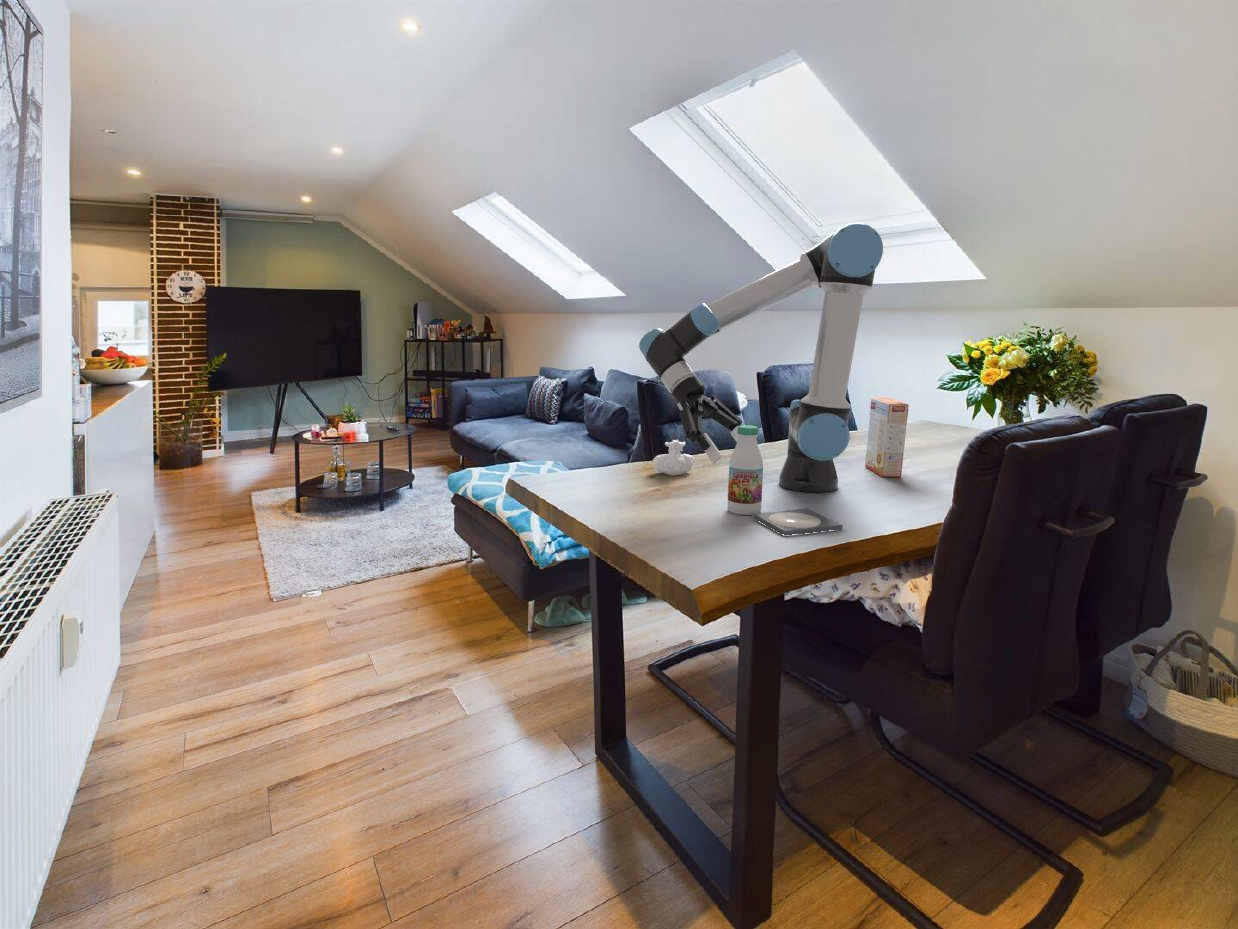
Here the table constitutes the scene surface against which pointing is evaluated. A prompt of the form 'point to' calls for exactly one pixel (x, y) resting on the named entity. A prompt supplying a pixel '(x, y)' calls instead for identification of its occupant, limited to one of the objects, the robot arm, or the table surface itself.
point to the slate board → (797, 521)
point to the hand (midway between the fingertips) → (734, 455)
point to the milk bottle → (745, 473)
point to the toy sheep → (674, 460)
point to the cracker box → (886, 436)
